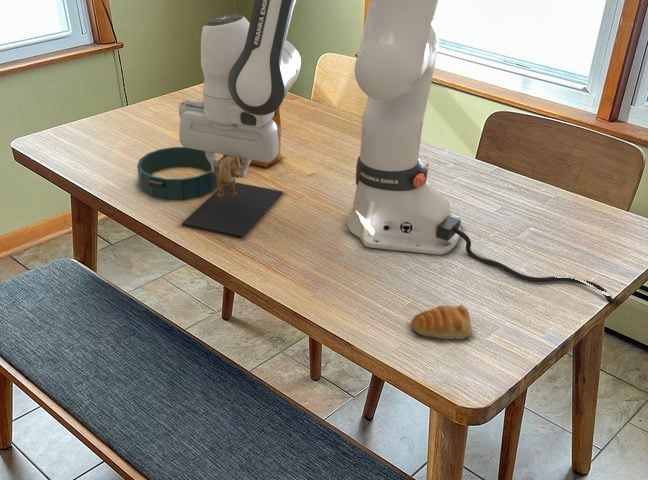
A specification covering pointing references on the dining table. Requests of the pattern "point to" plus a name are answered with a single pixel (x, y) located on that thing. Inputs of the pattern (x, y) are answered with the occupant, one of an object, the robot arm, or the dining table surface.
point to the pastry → (443, 322)
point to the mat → (233, 210)
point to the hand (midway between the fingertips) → (229, 174)
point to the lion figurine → (227, 173)
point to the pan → (176, 187)
